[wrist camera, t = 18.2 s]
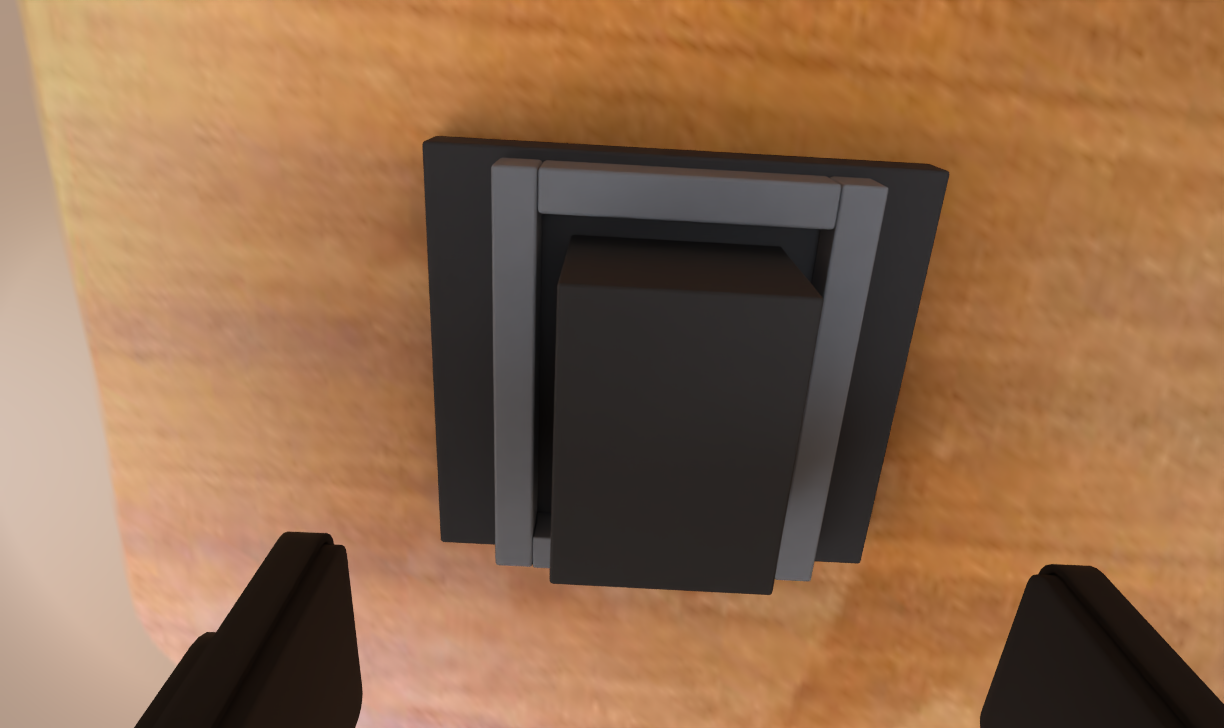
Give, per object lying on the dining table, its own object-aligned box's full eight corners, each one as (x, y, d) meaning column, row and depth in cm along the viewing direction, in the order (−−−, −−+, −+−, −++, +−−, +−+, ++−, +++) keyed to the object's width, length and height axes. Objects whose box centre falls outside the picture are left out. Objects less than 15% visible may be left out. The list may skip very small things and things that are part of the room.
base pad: (449, 518, 22) (429, 570, 20) (433, 135, 18) (407, 147, 15) (848, 539, 22) (874, 593, 20) (930, 164, 18) (975, 179, 15)
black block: (562, 486, 20) (549, 585, 16) (570, 233, 17) (557, 283, 14) (745, 496, 20) (772, 596, 16) (782, 245, 17) (825, 297, 14)
